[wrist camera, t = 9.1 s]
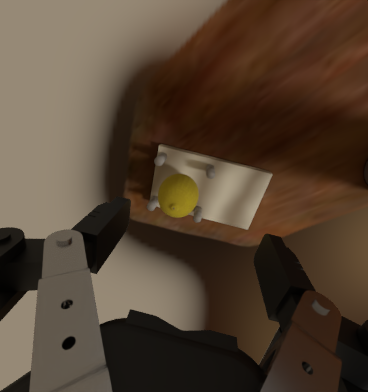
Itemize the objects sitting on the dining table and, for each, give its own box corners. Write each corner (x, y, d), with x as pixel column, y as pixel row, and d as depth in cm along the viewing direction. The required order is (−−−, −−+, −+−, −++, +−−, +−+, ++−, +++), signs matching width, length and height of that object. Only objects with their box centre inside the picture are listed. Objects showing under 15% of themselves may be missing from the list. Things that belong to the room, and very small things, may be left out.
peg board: (269, 171, 29) (279, 181, 25) (246, 224, 34) (251, 240, 30) (161, 143, 29) (153, 149, 25) (151, 200, 34) (143, 213, 30)
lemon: (172, 160, 29) (161, 179, 22) (206, 176, 29) (205, 200, 22) (159, 190, 31) (144, 216, 24) (190, 205, 32) (185, 234, 24)
